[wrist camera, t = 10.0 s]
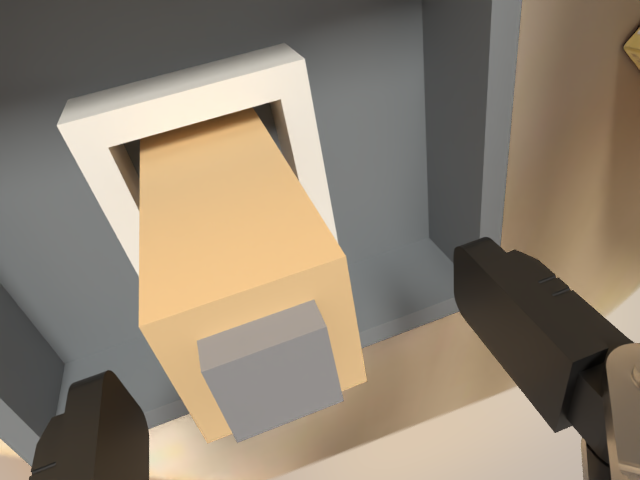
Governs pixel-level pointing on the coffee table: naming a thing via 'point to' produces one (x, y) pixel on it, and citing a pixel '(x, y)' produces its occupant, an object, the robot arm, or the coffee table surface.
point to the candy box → (634, 48)
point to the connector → (241, 280)
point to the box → (285, 129)
